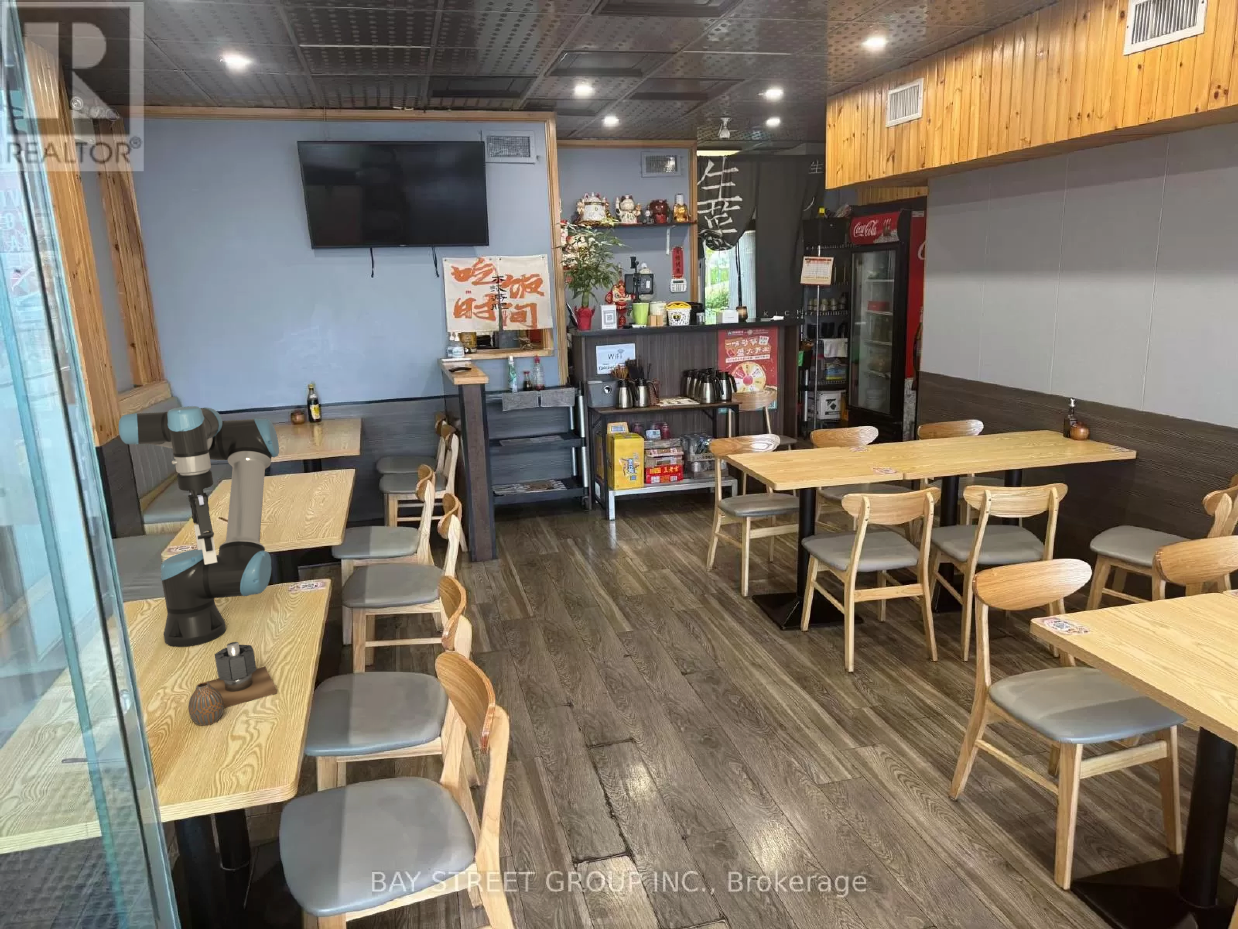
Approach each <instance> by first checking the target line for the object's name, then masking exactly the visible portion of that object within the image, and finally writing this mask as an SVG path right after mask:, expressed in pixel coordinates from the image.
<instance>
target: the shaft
mask: <svg viewBox="0 0 1238 929" xmlns="http://www.w3.org/2000/svg"><path fill="white" fill-rule="evenodd" d="M239 645H240V644H239V642H238V641H233V642H230V643H227V644H226V648H227V650H228V656H229V657H233V656H237V655H240V649H239ZM252 684H253V680H252V674H250V675H249V676H247V677H244V678H240V679H236V680H232V681H231V680H224V685H225V690H226V691H229V692H236V691H241V690H244V689H247V688H249V687H250V686H251V685H252Z"/></svg>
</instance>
